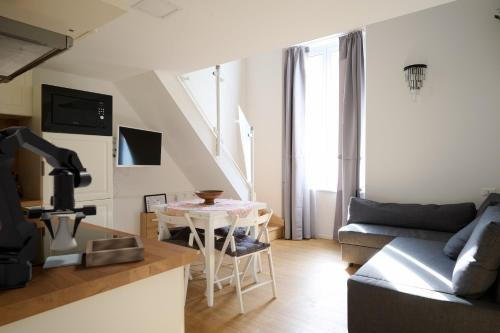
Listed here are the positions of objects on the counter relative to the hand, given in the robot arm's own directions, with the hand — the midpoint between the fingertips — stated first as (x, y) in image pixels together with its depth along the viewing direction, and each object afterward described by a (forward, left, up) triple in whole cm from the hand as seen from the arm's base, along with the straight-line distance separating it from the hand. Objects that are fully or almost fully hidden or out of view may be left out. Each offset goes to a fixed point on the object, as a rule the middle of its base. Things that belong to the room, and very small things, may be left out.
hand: (63, 238), depth 100 cm
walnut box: (+15, 0, -7) cm, 17 cm away
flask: (0, 0, -3) cm, 3 cm away
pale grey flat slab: (0, 0, -7) cm, 7 cm away
